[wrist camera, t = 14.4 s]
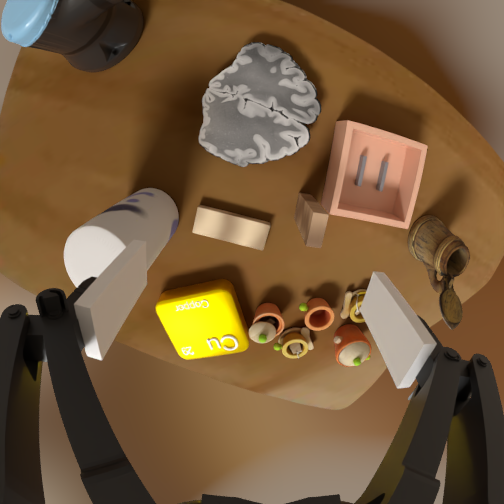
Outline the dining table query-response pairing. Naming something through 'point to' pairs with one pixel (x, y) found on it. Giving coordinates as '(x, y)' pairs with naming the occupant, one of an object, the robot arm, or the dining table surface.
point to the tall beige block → (310, 220)
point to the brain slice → (258, 107)
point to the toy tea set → (316, 318)
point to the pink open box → (373, 175)
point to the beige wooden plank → (231, 227)
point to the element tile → (204, 319)
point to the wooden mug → (440, 262)
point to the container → (121, 233)
